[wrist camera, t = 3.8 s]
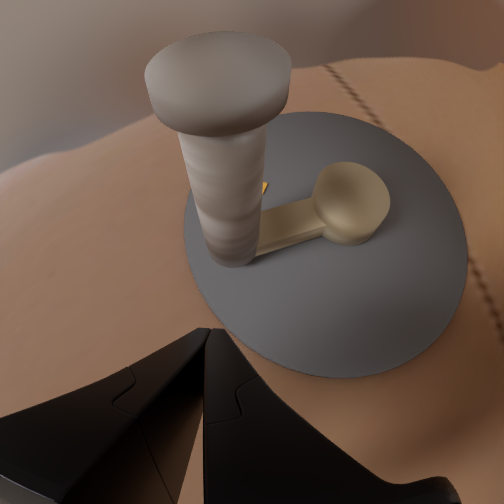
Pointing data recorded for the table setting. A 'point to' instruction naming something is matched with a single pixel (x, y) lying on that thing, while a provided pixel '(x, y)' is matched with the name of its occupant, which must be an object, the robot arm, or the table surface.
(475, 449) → the table surface
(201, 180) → the crank handle
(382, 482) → the robot arm
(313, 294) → the dial plate
